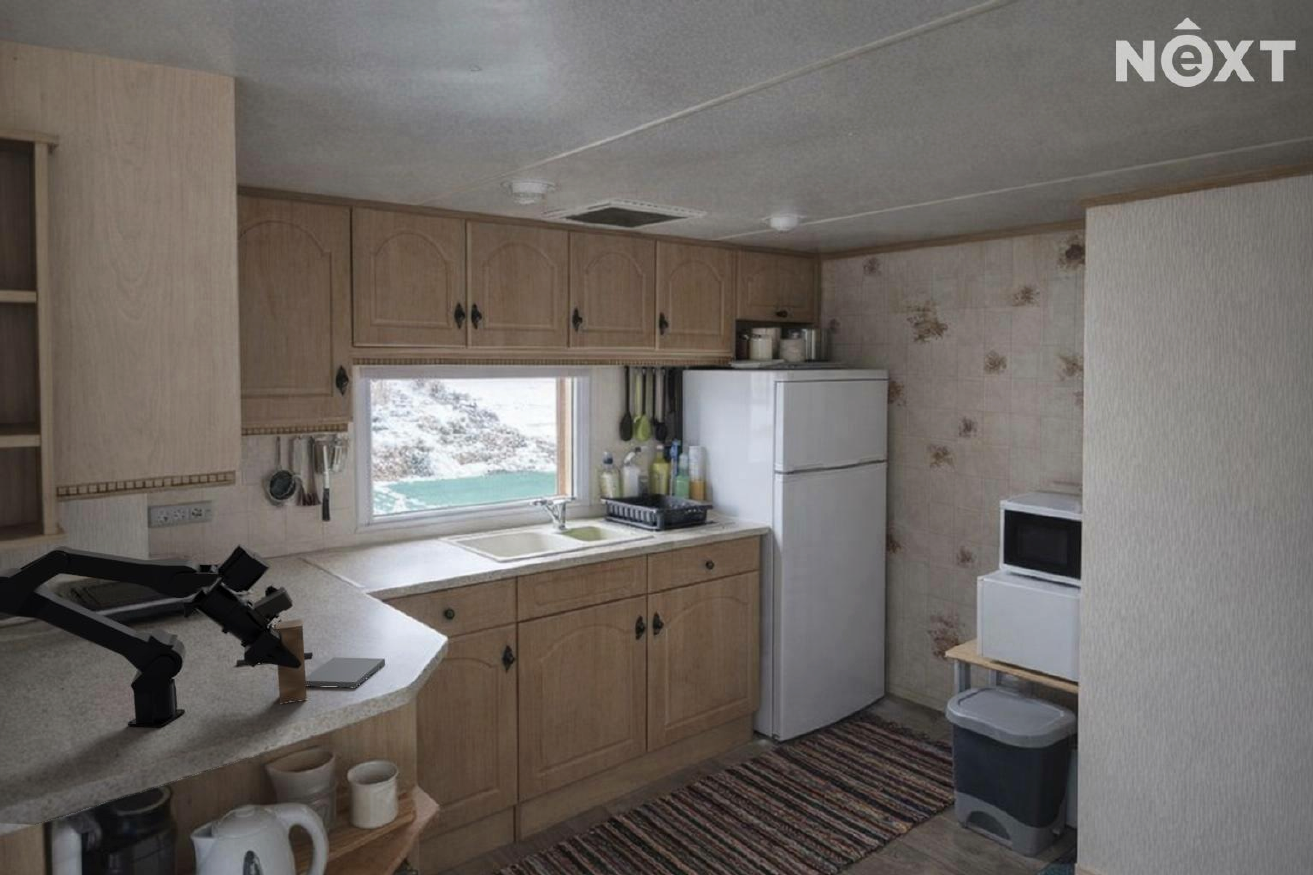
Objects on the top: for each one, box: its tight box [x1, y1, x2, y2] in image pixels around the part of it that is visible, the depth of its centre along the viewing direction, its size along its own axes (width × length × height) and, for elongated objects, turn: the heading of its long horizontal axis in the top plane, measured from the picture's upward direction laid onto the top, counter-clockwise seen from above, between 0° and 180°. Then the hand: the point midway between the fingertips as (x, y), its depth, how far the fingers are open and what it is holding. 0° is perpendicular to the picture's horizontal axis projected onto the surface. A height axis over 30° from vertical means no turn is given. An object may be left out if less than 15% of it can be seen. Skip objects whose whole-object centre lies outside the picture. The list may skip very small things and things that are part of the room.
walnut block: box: [275, 618, 308, 704], centre depth 160 cm, size 4×4×14 cm
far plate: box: [305, 656, 386, 689], centre depth 172 cm, size 13×11×1 cm
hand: (299, 662), depth 160 cm, fingers closed on walnut block, 4 cm apart
